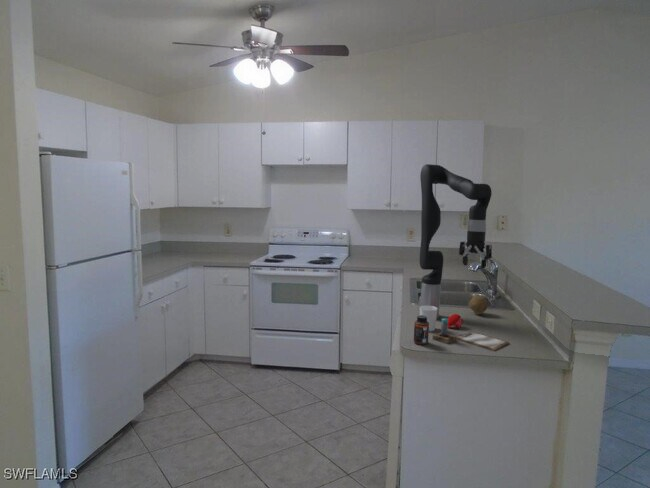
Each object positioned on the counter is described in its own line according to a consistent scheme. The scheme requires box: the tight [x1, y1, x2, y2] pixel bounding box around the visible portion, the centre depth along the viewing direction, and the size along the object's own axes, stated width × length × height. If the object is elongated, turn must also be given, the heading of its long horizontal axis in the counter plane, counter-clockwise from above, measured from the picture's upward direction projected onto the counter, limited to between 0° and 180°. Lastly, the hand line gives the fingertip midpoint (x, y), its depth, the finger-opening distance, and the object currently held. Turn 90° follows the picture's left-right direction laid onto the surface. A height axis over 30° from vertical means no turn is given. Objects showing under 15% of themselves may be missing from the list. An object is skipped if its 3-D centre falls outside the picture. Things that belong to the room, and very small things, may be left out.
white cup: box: [420, 306, 438, 332], centre depth 200 cm, size 8×8×10 cm
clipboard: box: [456, 330, 510, 352], centre depth 186 cm, size 18×13×1 cm
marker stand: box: [432, 331, 457, 345], centre depth 187 cm, size 7×7×2 cm
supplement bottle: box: [413, 314, 430, 346], centre depth 182 cm, size 6×6×11 cm
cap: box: [447, 313, 463, 329], centre depth 204 cm, size 8×6×6 cm
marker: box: [440, 317, 449, 337], centre depth 187 cm, size 3×3×9 cm
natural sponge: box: [468, 294, 488, 316], centre depth 225 cm, size 9×9×10 cm
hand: (474, 266), depth 193 cm, fingers open, 8 cm apart
